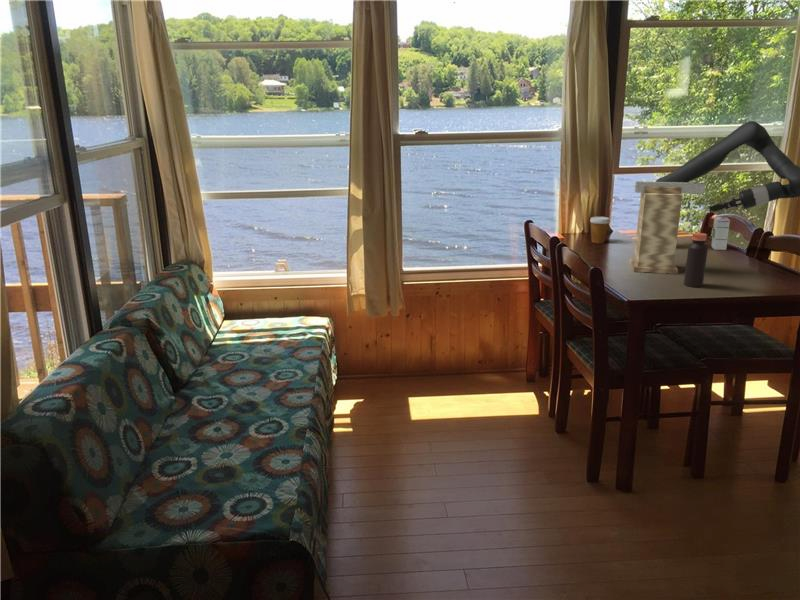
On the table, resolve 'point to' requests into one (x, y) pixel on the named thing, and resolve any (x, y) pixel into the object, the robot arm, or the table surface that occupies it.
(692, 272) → the bottle
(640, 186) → the rail
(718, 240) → the syrup box
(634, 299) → the table surface
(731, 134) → the robot arm
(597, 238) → the disposable coffee cup
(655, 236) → the post
